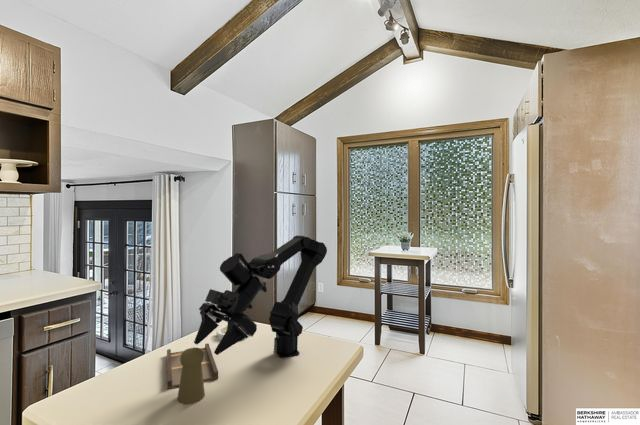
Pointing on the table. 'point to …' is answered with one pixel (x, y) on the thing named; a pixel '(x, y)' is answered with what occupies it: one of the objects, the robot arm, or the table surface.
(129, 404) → the table surface
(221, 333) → the white dish rim
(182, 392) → the olive pawn shaped piece
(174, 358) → the channel board
